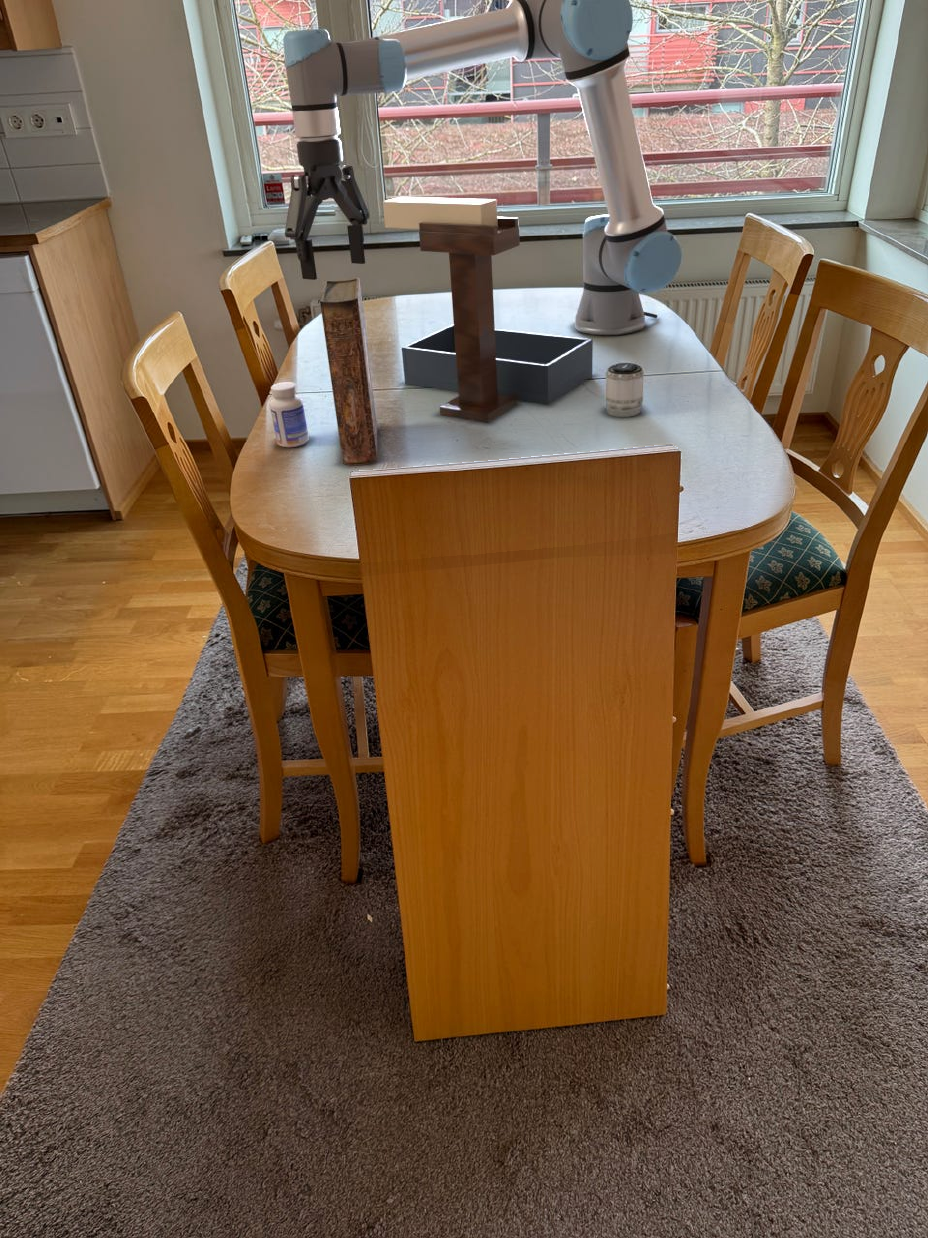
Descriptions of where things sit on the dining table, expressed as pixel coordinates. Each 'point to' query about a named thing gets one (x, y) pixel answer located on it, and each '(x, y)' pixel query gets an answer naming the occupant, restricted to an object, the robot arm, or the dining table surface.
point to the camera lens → (624, 389)
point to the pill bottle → (288, 415)
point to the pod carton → (438, 211)
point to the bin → (506, 363)
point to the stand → (473, 311)
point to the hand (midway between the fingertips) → (334, 270)
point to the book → (350, 370)
